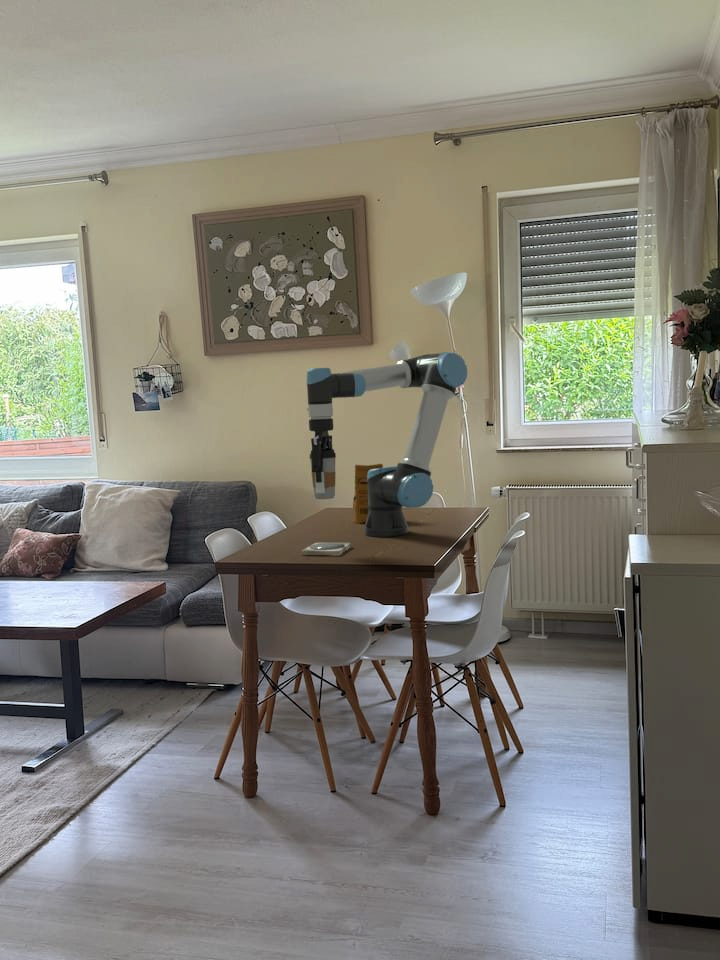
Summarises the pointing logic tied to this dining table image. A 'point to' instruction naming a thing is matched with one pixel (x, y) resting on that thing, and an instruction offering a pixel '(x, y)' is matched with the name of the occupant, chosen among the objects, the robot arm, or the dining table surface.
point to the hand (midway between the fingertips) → (324, 491)
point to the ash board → (326, 549)
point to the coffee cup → (326, 475)
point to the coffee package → (362, 492)
